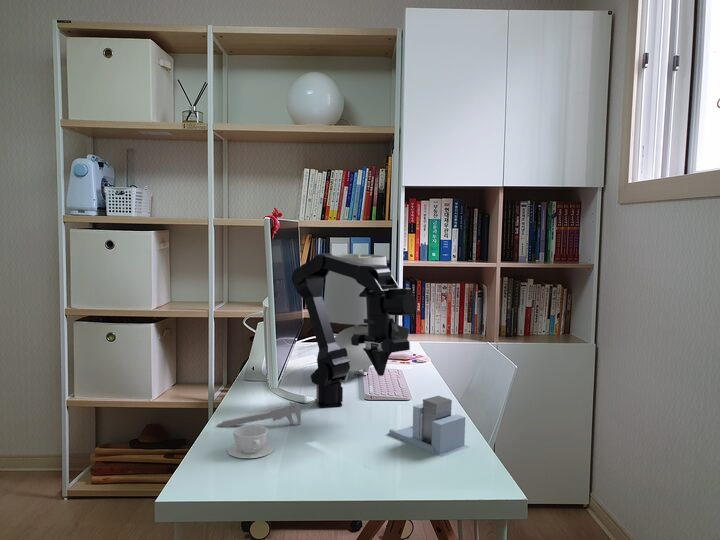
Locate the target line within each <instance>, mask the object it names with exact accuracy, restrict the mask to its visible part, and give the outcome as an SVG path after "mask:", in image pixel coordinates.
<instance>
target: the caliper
mask: <svg viewBox="0 0 720 540" xmlns="http://www.w3.org/2000/svg"><path fill="white" fill-rule="evenodd" d="M289 405H290V406H289ZM289 405H286V406H285V405H284V406H282V407H276V408H272V409H270V411H266V412H265V411H264V412H260V413H254V414H250V415H245V416H239V417H236V418H235V417H234V418H229V419H226V420H225V419H224V420H221V422H220V423H218V424H217V425H216V427H217V428H219V427H223V428H225V427H228V428H229V427H233V426H238V425H243V424H248V423H253V422H259V421H262V420H263V421H265V420H269V419H272V421H276V420H281V419H283V418H284V417H286V419H287V420H288V423H289V424H290V426H294V420H293V414H295V416H296V420H297V424H298V426H299V425H301V424H302V423H301V422H302V421H301V418H302V416H301V415H302V414H301V413H302V412H301V409H300V405H299V403H298V404H297V402H296V400H294V401H293V402H292V401H289Z"/></svg>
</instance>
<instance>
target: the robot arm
mask: <svg viewBox="0 0 720 540" xmlns="http://www.w3.org/2000/svg"><path fill="white" fill-rule="evenodd" d="M333 255H334V254H332V253H318V254H317V255H315V256H314V257H313V258H311V259H310V260H308V261H307V262H305V263H303V264H301V265H300V266H298V267H296V268H294V270H293V273H292V275H291V283H292V285H293V287H294V289H295V291H296V293H297V294H298V295H299V296H300V297H301V298H302V299H303V300H304V303H305V306H306V309H307V312H308V316H309V319H310V322H311V323H310V324H311V326H312V329H313V333H314V337H315V340H316V343H317V346H318V353H317V357H316V363H317V368H316V369H315V370H314V371H313V372H312V374H311V375H310V380H311V383H312V385H313V384H314V385H316V392H315V393H316V394H315V395H316V397H315V399H314V401H315V404H316V405H317V406H318V408H332V407H334V408H335V407H342V406H343V396H344V395H343V390H344V389H343V386H342V382H344V380H345V378H346V375H347V373H348V371H349V369H350V364H349V362H350V359H349V358H348V355H347V350H346V348H340V347H339V346H338V345H337V344H336V341H335V335H334V332H333V328H332V326H331V322H330V321H329V318H328V315H327V311H326V308H325V305H324V297H323V289H324V287H325V286H324V285H325V283H324V279H325V278H326V276H327V275H328V272H329V271H332V272H335V273H338V274H341V275H345V276H348V277H351V278H353V279H355V280H356V281H357V283H358V284H360V285H362V286H364V287H365V288H364V290H363V291H362V292H361V293H360V294H359V297H366V307H367V319H364V323H367V324H366V327H367V329H368V332H367V333H359V334H354V335H353V336H352V338H351V345H355V346H358V345H359V344H362V343H365V345H366V348H363V350H364V351H365V352H366V354H367V355H368V357H369V359H370V361H371V362H372V364H373V365H372V366H373V368H374V370H375V372H376V374H377V376H379V377H382V376H384V375H385V371H386V368H387V364H388V361H389V357H390V356H391V355H392V353H397V352H398V353H399V352H404V351H409V350H410V349H411V345H410V341H409V339H408V338H409V334H410V331H411V330H410V328H409V327H406V326H403V325H399V324H397V322H395V321H394V320H395V319H394V318H393V317H390V315H391V316H403V317H404V316H405V317H406V316H407V317H412V316H413V315H414V314H415V313H416V310H417V306H418V304H417V300H416V299H417V298H416V297H415V295H414V293H413V292H412V289H411V287H404V288H401V287H400V285H399V283H398V282H397V281H396V279H395V278H394V276H393V275H392V272H391V270H390V267H389V266H386V265H375V264H360V263H357V262H354V261H350V260H347V259H343V258H340V257H337V256H333ZM349 372H350V371H349Z"/></svg>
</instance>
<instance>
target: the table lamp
mask: <svg viewBox="0 0 720 540" xmlns="http://www.w3.org/2000/svg"><path fill="white" fill-rule="evenodd" d="M332 255H333V256H337V257H340V258H343V259H347V260H350V261H354V262H357V263H360V264H375V265H386V266H387V265H388V264H387V256H385V255H380V254H366V253H365V254H364V253H363V254H362V253H361V254H360V253H344V254H343V253H340V254H339V253H335V254H332ZM387 267H388V266H387ZM324 285H325V286H324V297H323V302H324V305H325V308H326V311H327V315H328V318H329V321H330V323H333V324H341V325H353V326H350V327H347V328H344V329H343V330H341V331H340V332H338V333H337V334H336V335H334V338H335V341H336V344H337V345H338V346H339V347H340V348H346V350H347V355H348V358H349V359H350V362H349V364H350V369H349V371H348V373H347V375H346V378H345V380H344V381H343V382H346V383H347V381H348V378H349V373H350V372H353V374H354V375H359V372H360V371H362V373H363V374H364V372H370V367H371V366H373V364H372V362H371V361H370V359H369V357H368V355H367V354H366V352H365V351H364V350H363V348H366V345H365V343H362V344H359V345H358V346H355V345H351V338H352V336H353V335H354V334H359V333H367V332H368V329H367V326H366V325H367V323H364V319H367V307H366V297H359V294H360V293H361V292H362V291H363V290H364V288H365V287H364V286H362V285H360V284H358V283H357V281H356V280H355V279H353V278H351V277H348V276H345V275H341V274H338V273H335V272H332V271H329V272H328V275H327V276H325V283H324ZM363 325H365V326H363Z"/></svg>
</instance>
